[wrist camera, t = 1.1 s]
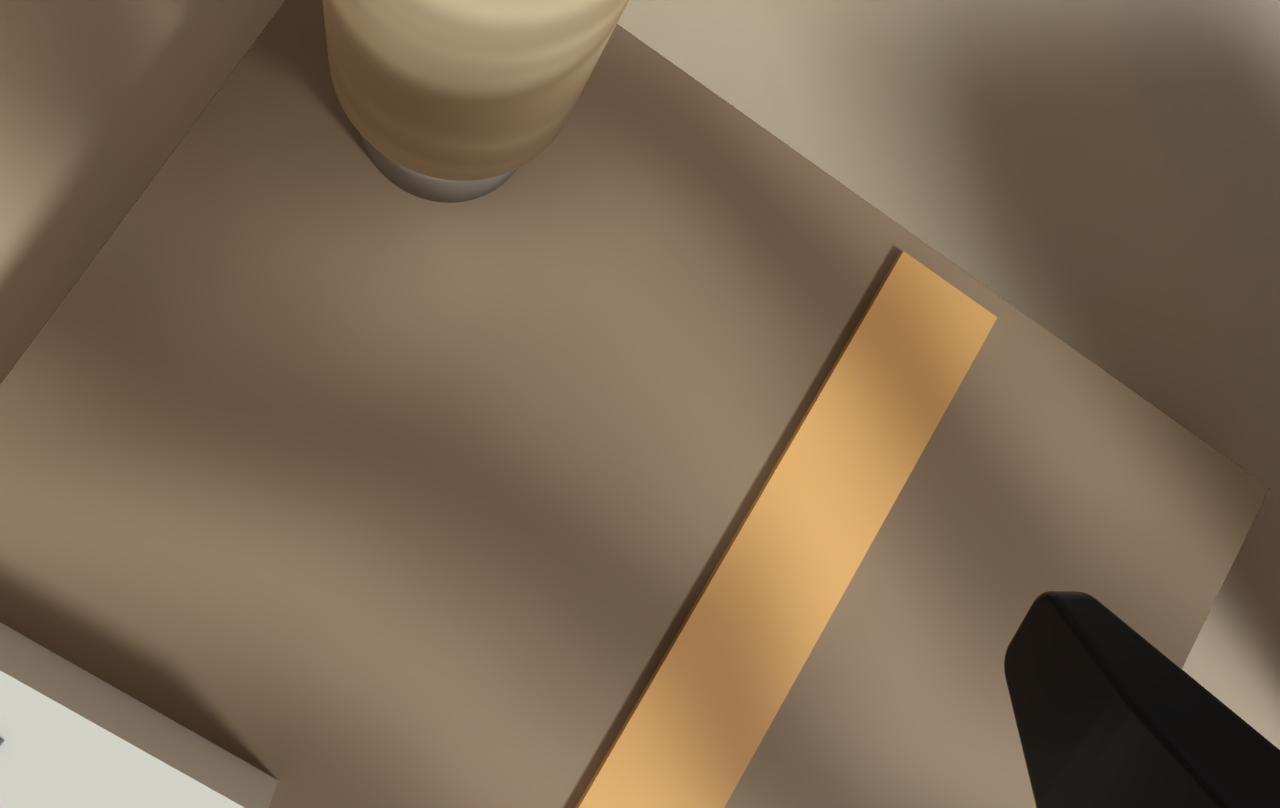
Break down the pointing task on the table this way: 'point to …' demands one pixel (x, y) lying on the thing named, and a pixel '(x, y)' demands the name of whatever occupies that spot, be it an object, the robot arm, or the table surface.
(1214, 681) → the table surface
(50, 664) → the block
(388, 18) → the beige round column
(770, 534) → the board
